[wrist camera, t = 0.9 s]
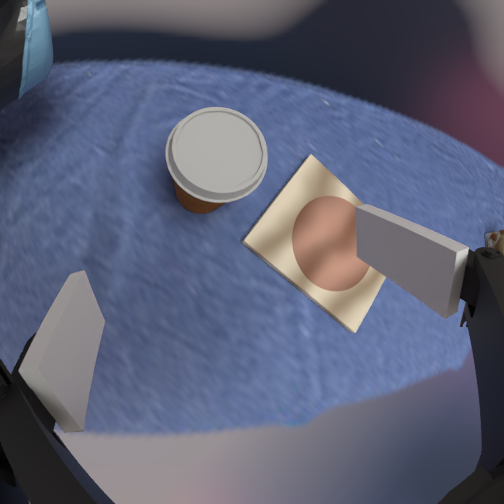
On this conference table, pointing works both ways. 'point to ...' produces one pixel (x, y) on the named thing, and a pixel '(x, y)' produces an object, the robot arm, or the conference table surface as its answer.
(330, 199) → the birch board
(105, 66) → the conference table surface
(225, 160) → the disposable coffee cup
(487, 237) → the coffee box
